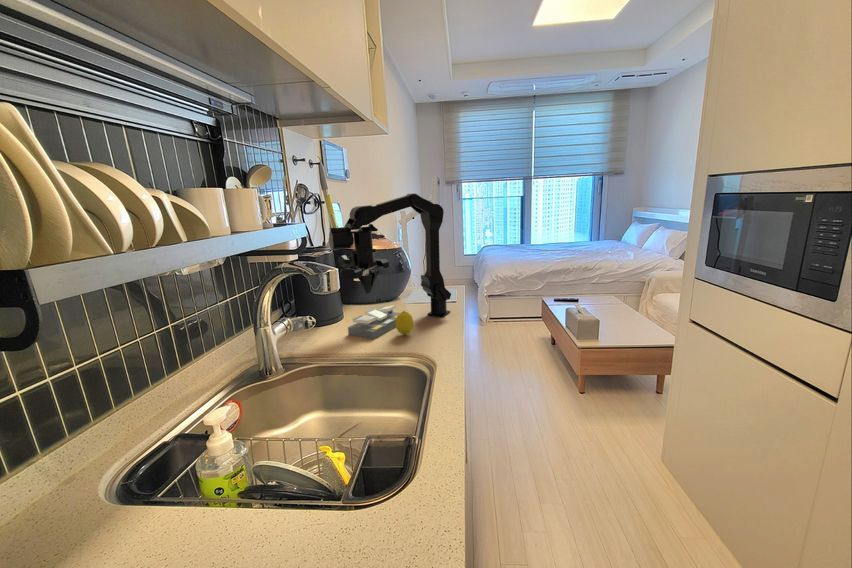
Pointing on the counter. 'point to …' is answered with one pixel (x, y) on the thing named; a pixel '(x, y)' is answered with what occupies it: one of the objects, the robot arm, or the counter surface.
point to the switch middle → (375, 314)
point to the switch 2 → (386, 308)
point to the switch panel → (374, 327)
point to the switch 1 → (364, 319)
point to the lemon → (404, 323)
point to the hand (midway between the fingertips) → (368, 293)
